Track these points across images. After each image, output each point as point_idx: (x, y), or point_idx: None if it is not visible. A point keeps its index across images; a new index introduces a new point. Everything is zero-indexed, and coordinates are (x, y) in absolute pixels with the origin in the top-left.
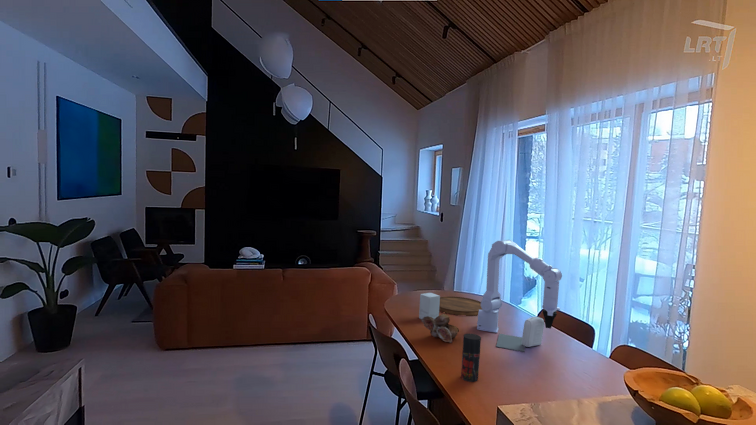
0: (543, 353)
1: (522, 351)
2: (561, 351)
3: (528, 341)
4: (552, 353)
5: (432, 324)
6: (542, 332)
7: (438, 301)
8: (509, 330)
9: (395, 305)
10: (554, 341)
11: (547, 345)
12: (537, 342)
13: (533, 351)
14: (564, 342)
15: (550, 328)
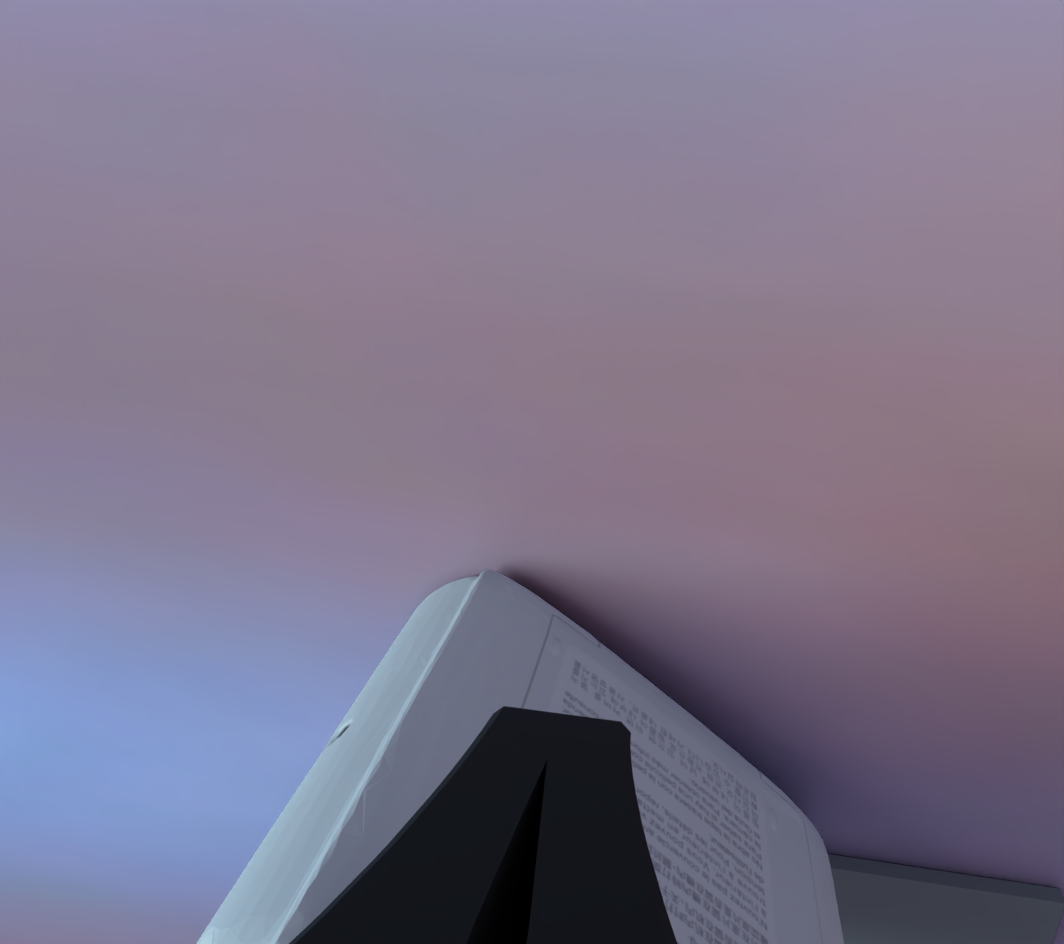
0: (1013, 573)
1: (1050, 920)
2: (719, 154)
3: (833, 921)
4: (946, 385)
5: None
6: (438, 729)
7: None
8: (52, 939)
9: None
10: (109, 254)
11: (457, 434)
12: (622, 690)
13: (955, 738)
14: (24, 14)
15: (629, 733)
